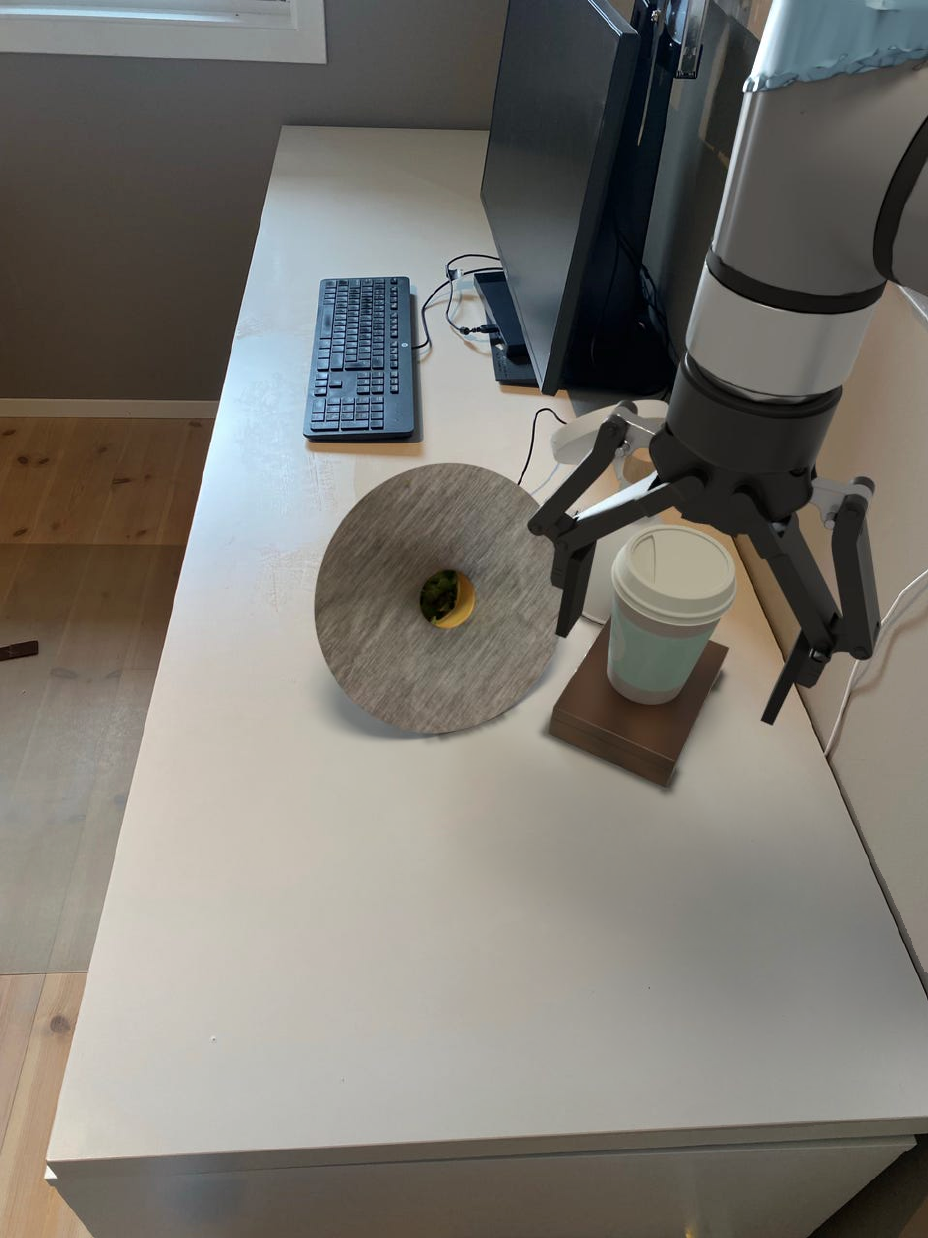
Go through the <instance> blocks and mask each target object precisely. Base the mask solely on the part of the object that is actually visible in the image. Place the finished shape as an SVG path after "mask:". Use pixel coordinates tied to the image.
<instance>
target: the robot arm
mask: <svg viewBox="0 0 928 1238" xmlns="http://www.w3.org/2000/svg"><path fill="white" fill-rule="evenodd" d="M765 22H766V23H765V26H764V29H763V33H762V37H761V39H760V43H759V46H758V50H757V52H756V56H755V60H754V63H753V65H752V69H751V73H750V75H749V76H748V77H747V78H746V79H745V81H744V83H743V88H742V92H743V93H744V94H743V99H742V104H741V109H740V113H739V118H738V123H737V126H736V133H735V137H734V142H733V146H732V152H731V156H730V160H729V167H728V171H727V176H726V180H725V184H724V189H723V193H722V199H721V203H720V208H719V212H718V217H717V221H716V225H715V229H714V234H713V235H711V236H710V244H709V247H708V251H707V252H706V255H705V259H704V263H703V267H702V271H701V276H700V277H699V283H698V286H697V290H696V294H695V298H694V302H693V306H692V310H691V313H690V316H689V317H690V318H689V321H688V326H687V329H686V334H685V345H686V348H685V349H684V350H683V352H682V354H681V355H680V360H679V363H678V368H677V371H676V375H675V379H674V384H673V387H672V388H673V389H672V391H671V396H670V400H669V404H668V406H669V407H668V411H667V415H666V419H665V422H664V423H663V424H662V425H661V426H660V425H658V424H656V423H654V422H651V421H649V420H647V419H645V418H642V417H640V416H638V409H637V406H636V405H635V403H633V402H632V401H633V400H630V399H622V400H620V401H619V402H617V403H616V405H617V406H616V407H615V408H614V409H613V411H612V412H611V413H610V414H609V416H608V417H607V418H606V419H605V421H604V422H603V423H602V425H601V426H600V429H599V432H598V435H597V438H596V441H595V444H594V447H593V448H592V450H591V451H590V452H589V453H588V454H587V455H586V456H585V457H584V458H583V459H582V460H581V462H580V463H579V464H576V466H575V467H574V468H573V469H572V470H571V471H570V472H569V473H568V474H567V475H566V477H565V478H564V479H563V480H562V481H561V482H560V483H559V484H558V486H557V487H556V488H555V489H554V490H553V491H552V492H551V493H550V494H549V496H548V497H546V499H544V501H543V502H542V504H541V505H540V508H539V509H538V510H537V511H536V513H535V514H534V515H533V516H532V518H531V519H530V520H529V521H528V523H527V527H528V530H529V531H530V532H531V533H532V534H533V535H535V536H542V535H544V536H546V537H547V538H548V539H550V540H551V542H552V543H553V546H554V548H555V551H554V557H553V563H552V570H551V576H550V580H551V584H552V586H554V587H557V588H559V589H562V590H563V593H562V598H561V604H560V609H559V615H558V620H557V626H556V631H555V635H558V636H560V638H562V639H564V640H566V639H567V638H568V637H569V635H570V633H571V631H572V630H573V629H574V627H575V625H576V623H577V622H578V620H579V619H580V618H581V616H582V612H583V607H584V602H585V597H586V593H587V588H588V583H589V578H590V573H591V568H592V564H593V559H594V554H595V549H596V544H597V540H598V539H600V538H603V537H605V536H607V535H609V534H611V533H613V532H615V531H617V530H619V529H621V528H623V527H625V526H627V525H629V524H631V523H633V522H635V521H637V520H639V519H641V518H643V517H645V516H647V517H648V518H650V517H652V516H654V515H656V514H658V515H659V514H660V513H663V512H664V511H666V510H668V509H671V508H674V509H675V510H676V511H677V512H678V513H679V514H681V516H680V519H681V520H682V519H683V520H685V521H688V522H690V523H693V524H700V525H706V526H710V527H712V528H713V529H715V530H716V531H718V532H719V533H721V534H724V535H726V536H729V537H732V538H734V539H738V538H737V537H738V536H740V535H743V536H745V535H746V536H747V537H748V538H749V540H750V543H751V544H752V546H753V548H754V550H755V552H756V554H757V555H758V556H757V557H759V558H760V560H765V561H766V563H767V565H768V566H769V568H770V570H771V572H772V574H773V575H774V578H775V580H776V582H777V585H778V586H779V587H780V589H781V592H782V594H783V596H784V598H785V599H786V602H787V603H788V605H789V608H790V609H791V611H792V613H793V614H794V617H795V619H796V621H797V623H798V625H799V626H800V630H799V632H798V635H797V636H796V638H795V641H794V642H793V645H792V646H791V649H790V652H789V654H788V656H787V658H786V660H785V662H784V664H783V667H782V669H781V671H780V673H779V675H778V677H777V679H776V682H775V684H774V686H773V688H772V690H771V693H770V695H769V698H768V700H767V703H766V705H765V708H764V710H763V713H762V715H761V718H760V722H762V723H764V724H767V725H770V726H774V724H775V722H776V720H777V718H778V715H779V714H780V711H781V710H782V707H783V706H784V703H785V701H786V699H787V698H788V695H789V693H790V691H791V689H792V687H793V685H794V684H796V685H799V686H802V687H804V688H806V689H809V690H810V689H811V688H813V687H814V686H816V685H817V683H818V681H819V679H820V677H821V675H822V673H823V671H824V669H825V668H826V666H827V664H829V663H830V662H831V660H832V657H833V654H837V653H848V654H849V656H851V657H852V658H853V659H855V660H857V661H868V660H870V659H871V658H872V657H873V654H874V652H875V648H876V645H877V641H878V638H879V636H880V632H881V628H882V618H881V613H880V605H879V598H878V597H879V596H878V591H877V584H876V576H875V569H874V562H873V556H872V549H871V541H870V535H869V525H868V520H867V519H868V518H867V516H868V513H869V510H870V507H871V503H872V499H873V497H874V494H875V490H876V484H875V482H874V481H873V479H871V478H870V477H867V476H861V475H860V476H859V475H858V476H855V477H854V478H853V479H851V480H850V481H849V483H845V482H842V481H838V480H837V481H836V480H833V479H827V478H825V477H819V476H818V473H817V472H818V471H817V467H816V464H817V463H816V462H817V458H818V456H819V453H820V451H821V448H822V446H823V444H824V442H825V438H826V436H827V434H828V431H829V428H830V426H831V424H832V421H833V419H834V416H835V414H836V411H837V409H838V406H839V405H840V402H841V399H842V396H843V391H844V388H843V384H844V383H845V382H846V381H847V380H848V379H849V378H850V376H851V373H852V370H853V369H854V366H855V363H856V362H857V361H856V360H857V358H858V356H859V352H860V351H861V349H862V346H863V344H864V341H865V339H866V336H867V334H868V331H869V329H870V327H871V324H872V321H873V319H874V317H875V315H876V312H877V309H878V307H879V304H880V302H881V299H882V297H883V294H884V292H885V289H886V286H887V284H888V281H889V282H891V283H894V284H896V285H898V286H899V287H903V288H908V289H910V290H912V291H913V292H914V291H915V292H916V293H918V294H921V295H922V296H924V297H927V298H928V0H772V3H771V5H770V9H769V13H768V16H767V20H766V21H765ZM641 447H645V448H648V449H649V455H650V458H651V460H652V462H653V465H654V467H655V469H656V470H655V471H654V472H653V473H652V474H651V475H650V476H648V477H646V478H644V479H643V480H641V481H639V482H637V483H635V484H633V485H631V486H629V487H628V488H626V489H624V490H622V491H620V492H618V491H617V492H616V493H615V494H613V495H611V496H608V497H607V498H605V499H604V500H601V501H600V502H598V503H596V504H594V505H592V506H590V507H588V508H586V509H585V510H583V511H581V512H579V510H578V509H577V510H576V511H575V512H574V513H573V515H572V516H571V515H570V514H568V513H566V512H567V511H568V510H569V509H570V508H571V507H572V506H573V505H574V504H575V503H576V502H577V501H578V500H579V499H580V498H581V497H582V496H583V494H585V492H587V490H588V489H589V488H590V487H591V486H592V485H593V484H594V483H595V482H596V481H597V480H598V479H599V478H600V477H601V476H602V474H604V472H606V470H607V469H608V468H609V466H610V465H611V464H612V461H613V460H614V458H615V457H616V456H617V457H619V458H621V457H623V456H625V457H626V456H629V455H631V454H633V452H634V451H635V450H636V449H638V448H641ZM808 504H811V505H814V506H815V507H816V508H817V509H818V511H819V513H820V520H821V522H822V523H823V527H824V528H825V529H826V530H828V531H832V534H831V540H830V541H831V543H830V546H831V547H830V548H831V556H832V561H833V567H834V573H835V579H836V585H837V591H838V597H839V603H840V609H841V611H840V609H839V607H838V605H837V602H836V600H835V598H834V596H833V594H832V592H831V590H830V588H829V586H828V584H827V582H826V579H824V575H823V574H822V572H821V570H820V568H819V566H818V564H817V561H816V560H815V558H814V555H813V554H812V552H811V550H810V548H809V545H808V543H807V541H806V539H805V537H804V535H803V534H802V531H801V529H800V528H801V527H800V519H799V516H798V513H797V512H798V511H800V510H802V509H803V508H805V507H806V506H808Z"/></svg>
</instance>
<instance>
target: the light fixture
mask: <svg viewBox="0 0 928 1238" xmlns="http://www.w3.org/2000/svg"><path fill="white" fill-rule="evenodd" d="M631 401H632V402H633V403H635V405H636V406H637V409H638V416H640V417H642V418H645V419H647V420H649V421H651V422H654V423H656V424H658V425H660V426H661V425H662V424H663V423H664V422H665V419H666V415H667V411H668V407H669V404H668V403H667V402H665V401H663V400H658V399H639V400H631ZM616 406H617V404H613V405H609V406H606V407H603V408H600V409H596V410H593V411H591V412H587V413H586V414H583V415H581V416H579V417H577V418H574V419H573V420H571V421H568V422H567V423H565V424H564V425H562V426H561V427H559V428H558V429H557V430H555V432H553V434H551V436H550V438H549V444H550V448H551V452H552V456H553V459H554V462H557V463H558V464H562V465H568V466H569V465H571V466H573V465H576V466H577V465H578V464H579V463H580V462H581V460H582V459H583V458H584V457H585V456H586V455H587V454H588V453H589V452H590V451H591V450H592V448H593V447H594V444H595V441H596V438H597V435H598V432H599V429H600V426H601V425H602V423H603V422H604V421H605V419H606V418H607V417H608V416H609V414H610V413H611V412H612V411H613V409H614V408H615V407H616ZM611 464H612V467H613V471H614V475H615V478H616V481H617V482H618V481H620V482H619V486H618V491H617V493H618V492H620V491H622V490H624V489H626V488H628V487H629V486H631V485H633V484H635V483H637V482H639V481H641V480H643V479H644V478H646V477H648V476H650V475H651V474H652V473H653V472H654V471H655V470H656V469H655V467H654V465H653V462H652V460H651V458H650V455H649V449H648V448H645V447H641V448H638V449H636V450H635V451H634V452H633V454H631V455H629V456H623V457H621V458H619V457H617V456H616V457H615V458H614V460H613V461H612V462H611ZM657 525H666V524H665V522H664V521H663V519H662V517H661V516H660V515H659V513H658V514H656V515H654V516H652V517H650V518H648V517H647V516H645V517H643V518H641V519H639V520H637V521H635V522H633V523H631V524H629V525H627V526H625V527H623V528H621V529H619V530H617V531H615V532H613V533H611V534H609V535H607V536H605V537H603V538H600V539H598V540H597V544H596V549H595V554H594V559H593V564H592V568H591V573H590V578H589V583H588V588H587V593H586V597H585V602H584V607H583V612H582V614H581V616H583V617H585V618H587V619H589V620H590V621H593V622H595V623H598V624H601V625H604V624H605V623H606V621H607V619H608V618H609V616H610V615H611V613H612V606H613V594H614V585H613V582H612V577H611V570H612V565H613V562H614V560H615V559H616V557H617V554H618V553H619V551H620V550H621V549H622V548H623V547H624V546H625V545H626V544H627V542H628V541H629V539H630V538H631V537H632V536H633V535H634V534H636V533H637V532H639V531H641V530H643V529H645V528H648V527H652V526H657Z"/></svg>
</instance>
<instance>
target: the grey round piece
mask: <svg viewBox="0 0 928 1238" xmlns="http://www.w3.org/2000/svg"><path fill="white" fill-rule="evenodd" d="M540 506H541V505H540V503H538V501H536V499H535V498H534V497H533V496H532V495H531V494H530V493H529V492H528V491H527V490H525V488H523V487H522V486H520V485H519V484H518V483H516V482H515V481H513V480H512V479H510V478H509V477H507V476H505V475H502V474H501V473H498V472H497V471H494V470H492V469H489V468H486V467H482V466H478V465H474V464H468V463H461V462H438V463H431V464H425V465H421V466H416V467H413V468H410V469H408V470H405V471H403V472H400V473H398V474H396V475H393V476H392V477H390V478H388V479H385V481H383V482H381V483H380V484H378V485H377V486H375V487H374V488H373V489H371V490H370V491H369V492H367V493H366V494H365V495H364V496H363V497H362V498H361V499H359V500H358V502H356V504H355V505H353V507H352V508H351V509H350V510H349V511H348V512H347V514H346V515H345V516H344V518H343V519H342V520H341V522H340V523H339V524H338V527H337V528H336V530H335V531H334V533H333V535H332V537H331V538H330V541H329V542H328V544H327V546H326V549H325V552H324V554H323V557H322V558H321V559H322V560H321V564H320V566H319V569H318V574H317V577H316V582H315V591H314V605H313V606H314V607H313V609H314V612H313V613H314V614H313V615H314V625H315V633H316V637H317V641H318V645H319V649H320V651H321V654H322V657H323V658H324V661H325V663H326V666H327V667H328V669H329V672H330V673H331V675H332V677H333V678H334V680H335V682H336V683H337V684H338V686H339V687H340V688H341V690H342V691H343V693H345V694H346V695H347V697H349V699H350V700H351V701H352V702H353V703H354V704H355V705H357V706H358V707H359V708H360V709H361V710H363V711H364V712H366V713H367V714H368V715H370V716H372V717H374V718H375V719H377V720H378V721H380V722H383V723H384V724H387V725H389V726H391V727H394V728H398V729H401V730H405V731H408V732H414V733H421V734H442V733H450V732H457V731H461V730H467V729H470V728H472V727H476V726H479V725H481V724H483V723H485V722H487V721H489V720H491V719H493V718H496V717H497V716H499V715H501V714H502V713H503V712H505V711H507V710H508V709H509V708H510V707H512V706H513V705H514V704H516V703H517V702H518V701H519V700H520V699H521V698H522V697H523V696H524V695H525V694H526V693H527V692H528V691H529V690H530V689H531V688H532V686H533V685H534V684H535V683H536V682H537V680H538V679H539V678H540V677H541V676H542V674H543V673H544V671H545V670H546V669H547V667H548V665H549V663H550V661H551V660H552V659H553V656H554V653H555V651H556V648H557V647H558V644H559V642H560V639H561V637H560V636H558V635H555V631H556V626H557V620H558V615H559V609H560V604H561V598H562V593H563V590H562V589H559V588H557V587H554V586H552V584H551V580H550V576H551V570H552V563H553V557H554V551H555V548H554V546H553V543H552V542H551V540H550V539H548V538H547V537H546V536H544V535H542V536H535V535H533V534H532V533H531V532H530V531H529V530H528V527H527V523H528V521H529V520H530V519H531V518H532V516H533V515H534V514H535V513H536V511H537V510H538V509H539V508H540Z"/></svg>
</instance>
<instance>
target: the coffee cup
mask: <svg viewBox="0 0 928 1238" xmlns="http://www.w3.org/2000/svg"><path fill="white" fill-rule="evenodd" d="M611 577H612V582H613V585H614V594H613V606H612V618H611V630H610V641H609V653H608V667H607V674H608V678H609V681H610V683H611V684H612V686H613V687H614V688H615V689H616V691H618V692H619V693H620V694H621V695H622V696H624V697H626V698H627V699H629V700H631V701H634V702H637V703H641V704H646V705H657V704H663V703H666V702H669V701H671V700H672V699H674V698H675V697H676V696H677V695H678V694H679V693H680V691H681V689H682V687H683V686H684V684H685V682H686V680H687V679H688V677H689V675H690V673H691V671H692V670H693V668H694V666H695V664H696V662H697V661H698V659H699V657H700V655H701V653H702V652H703V650H704V648H705V646H706V644H707V643H708V641H709V640H711V637H712V636H713V633H714V632H715V630H716V628H717V626H718V624H719V623H720V621H721V619H722V618H723V617H724V616H725V615H726V614H727V613H728V612H729V611H730V610H731V609H732V607H733V605H735V602H736V598H737V590H738V579H737V576H736V565H735V561H734V559H733V557H732V555H731V553H730V551H729V550H727V548H726V547H725V546H724V545H723V544H722V543H721V542H719V541H718V540H717V539H715V538H714V537H713V536H711V535H709V534H707V533H705V532H703V531H701V530H698V529H695V528H693V527H689V526H685V525H679V524H678V525H677V524H665V525H657V526H652V527H648V528H645V529H643V530H641V531H639V532H637V533H636V534H634V535H633V536H632V537H631V538H630V539H629V541H628V542H627V544H626V545H625V546H624V547H623V548H622V549H621V550H620V551H619V553H618V554H617V557H616V559H615V560H614V562H613V565H612V570H611Z"/></svg>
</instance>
